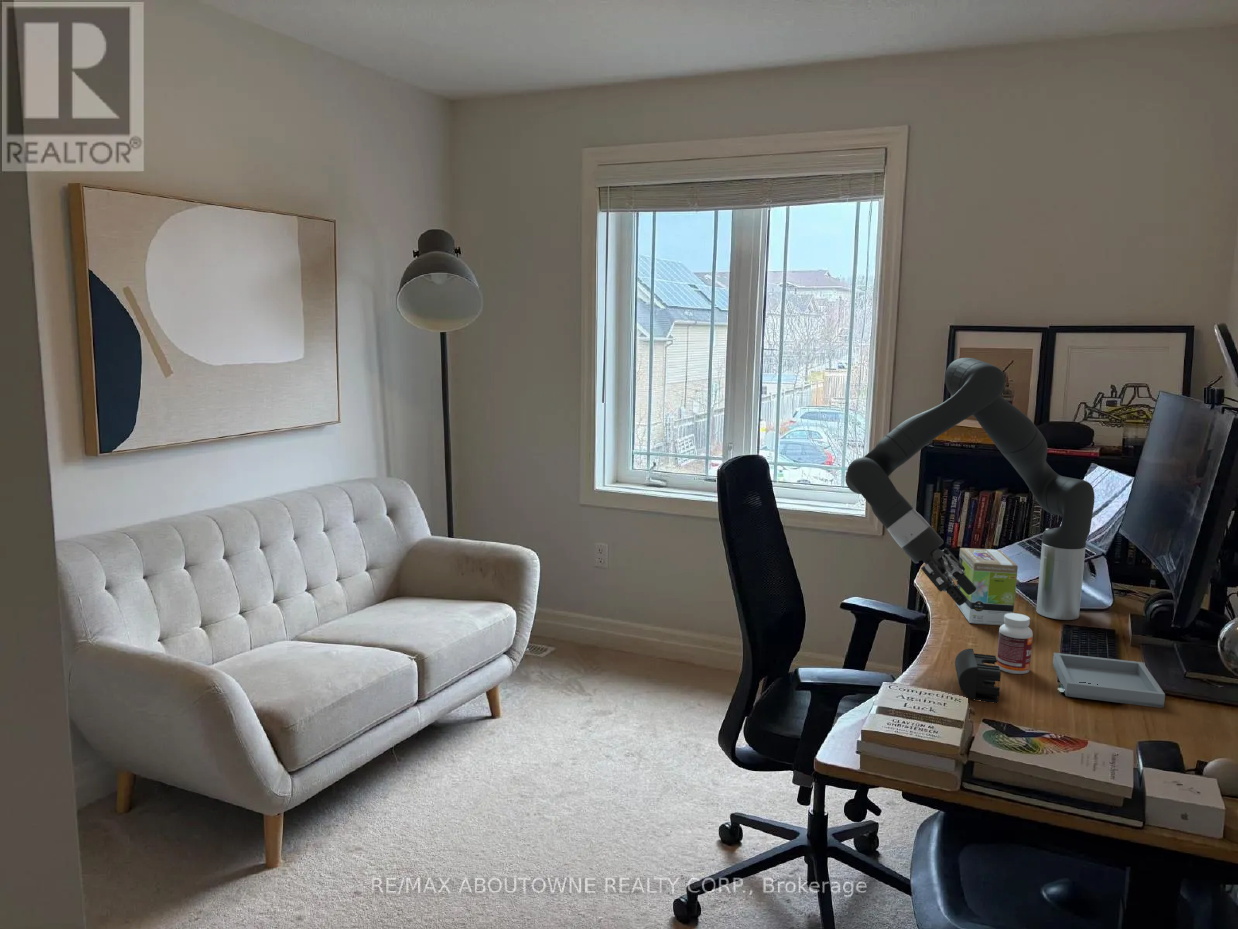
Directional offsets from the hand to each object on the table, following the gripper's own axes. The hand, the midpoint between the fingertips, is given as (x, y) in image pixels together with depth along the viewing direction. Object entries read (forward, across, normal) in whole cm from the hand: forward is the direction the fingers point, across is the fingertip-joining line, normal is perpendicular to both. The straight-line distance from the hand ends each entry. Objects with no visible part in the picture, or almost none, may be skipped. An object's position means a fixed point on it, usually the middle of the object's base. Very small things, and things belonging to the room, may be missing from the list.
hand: (968, 597), depth 179 cm
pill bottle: (+16, 0, +3) cm, 16 cm away
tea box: (+8, +32, +11) cm, 35 cm away
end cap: (+13, -16, +6) cm, 21 cm away
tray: (+28, +1, -9) cm, 29 cm away
